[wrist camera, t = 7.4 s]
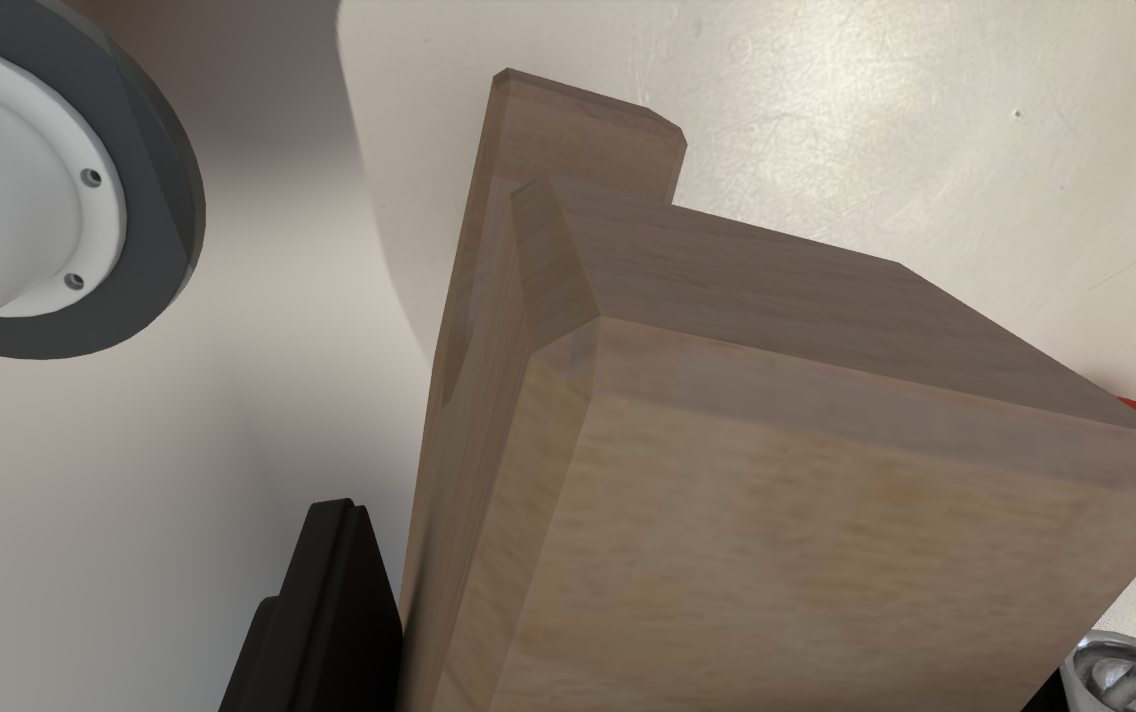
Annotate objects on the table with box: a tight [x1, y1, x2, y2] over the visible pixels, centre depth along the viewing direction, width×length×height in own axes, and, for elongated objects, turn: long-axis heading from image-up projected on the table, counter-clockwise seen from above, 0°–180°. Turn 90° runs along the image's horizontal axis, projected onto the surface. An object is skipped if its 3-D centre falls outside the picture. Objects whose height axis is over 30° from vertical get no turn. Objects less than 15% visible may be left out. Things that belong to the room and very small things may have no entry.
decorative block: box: [394, 68, 1136, 712], centre depth 15 cm, size 11×6×20 cm, turn 163°
